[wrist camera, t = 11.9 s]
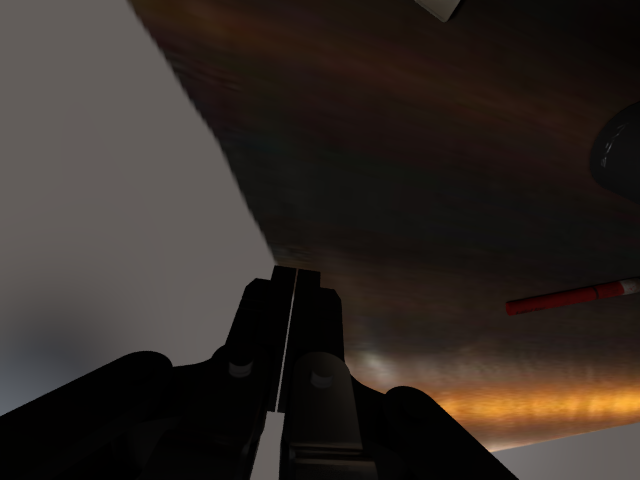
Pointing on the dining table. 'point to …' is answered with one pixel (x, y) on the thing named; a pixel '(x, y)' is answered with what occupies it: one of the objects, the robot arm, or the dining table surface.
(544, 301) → the flare
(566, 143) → the dining table surface
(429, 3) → the pipe stand
